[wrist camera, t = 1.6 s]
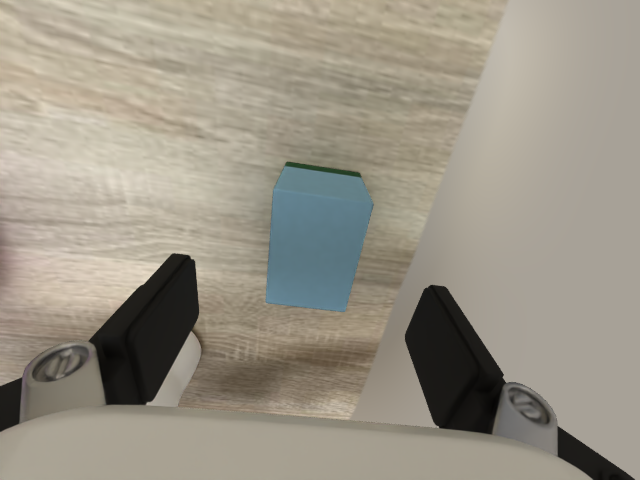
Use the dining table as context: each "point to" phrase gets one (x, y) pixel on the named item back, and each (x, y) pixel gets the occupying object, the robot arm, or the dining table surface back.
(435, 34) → the dining table surface
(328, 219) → the sponge
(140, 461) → the robot arm
